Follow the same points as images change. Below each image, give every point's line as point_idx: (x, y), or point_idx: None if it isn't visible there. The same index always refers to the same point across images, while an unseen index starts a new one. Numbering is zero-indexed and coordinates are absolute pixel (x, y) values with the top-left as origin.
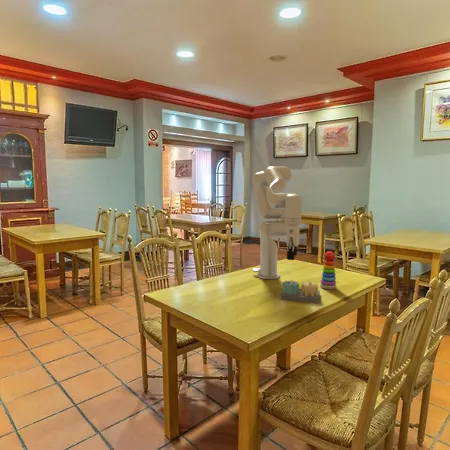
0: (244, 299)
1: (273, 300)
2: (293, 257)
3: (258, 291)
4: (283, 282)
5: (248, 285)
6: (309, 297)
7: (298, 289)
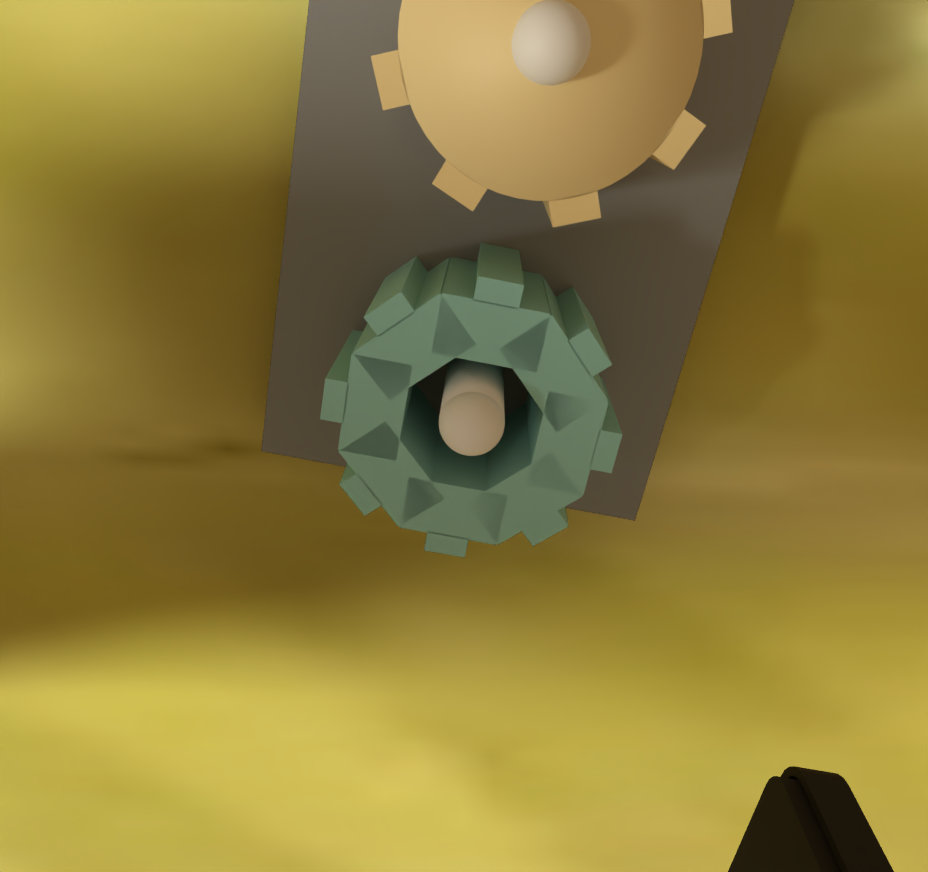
0: (642, 847)
1: (668, 572)
2: (870, 868)
3: (339, 725)
4: (454, 545)
5: (128, 823)
6: (740, 80)
7: (518, 265)
